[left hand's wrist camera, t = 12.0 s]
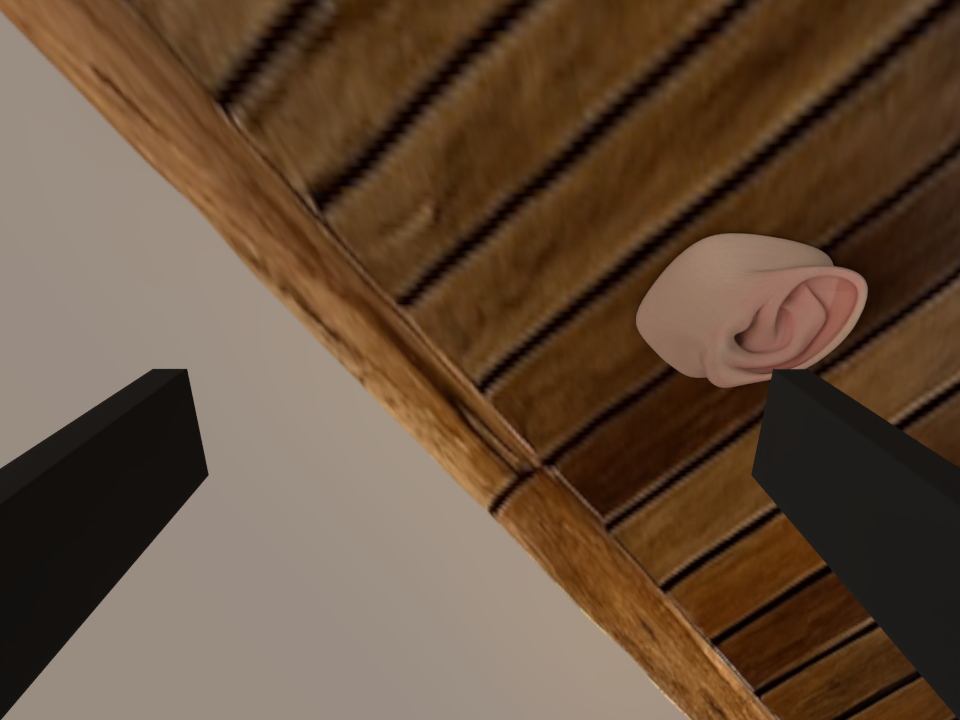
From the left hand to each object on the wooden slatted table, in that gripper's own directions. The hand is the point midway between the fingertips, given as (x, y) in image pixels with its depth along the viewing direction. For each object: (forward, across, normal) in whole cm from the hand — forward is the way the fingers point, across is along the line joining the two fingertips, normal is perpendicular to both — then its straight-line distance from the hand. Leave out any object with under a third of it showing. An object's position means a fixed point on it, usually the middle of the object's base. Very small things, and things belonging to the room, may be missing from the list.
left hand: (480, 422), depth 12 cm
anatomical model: (+27, +18, -5) cm, 33 cm away
